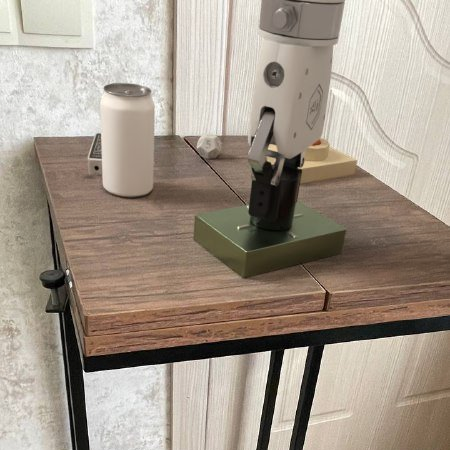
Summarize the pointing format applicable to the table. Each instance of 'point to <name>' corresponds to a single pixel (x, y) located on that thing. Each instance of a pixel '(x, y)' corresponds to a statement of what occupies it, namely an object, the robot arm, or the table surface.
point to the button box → (322, 162)
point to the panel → (267, 239)
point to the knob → (283, 201)
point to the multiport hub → (95, 157)
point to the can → (127, 139)
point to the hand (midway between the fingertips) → (273, 207)
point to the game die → (209, 146)
